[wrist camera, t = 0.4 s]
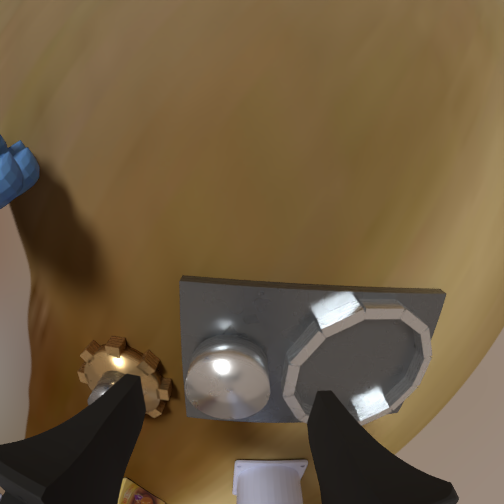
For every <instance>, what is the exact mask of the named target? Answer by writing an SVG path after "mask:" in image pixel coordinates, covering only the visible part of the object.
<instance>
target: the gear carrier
mask: <svg viewBox="0 0 504 504" xmlns="http://www.w3.org/2000/svg"><path fill="white" fill-rule="evenodd" d="M445 297H446V293H445V292H444V291H442V290H441V289H421V288H385V287H358V286H335V285H315V284H297V283H280V282H264V281H249V280H235V279H221V278H208V277H196V276H184V275H183V276H182V278H181V279H180V321H181V344H182V362H183V377H184V390H185V401H186V412H187V417H194V418H203V419H213V420H225V421H240V422H269V423H290V422H305V423H307V421H308V418H309V415H310V412H311V409H312V406H313V403H314V400H315V396H316V393H317V391H327V390H331V391H332V392H333V393H334V394H335V395H336V397H337V398H338V399H339V400H340V402H341V403H342V404H343V405H344V406H345V408H346V409H347V410H348V411H349V412H350V414H351V415H352V416H353V417H354V418H355V419H356V420H357V422H358V423H359V424H360V425H361V426H362V425H364V424H367V423H369V422H371V421H373V420H375V419H378V418H380V417H382V416H384V415H386V414H392V413H398V411H399V409H400V408H401V406H402V404H403V402H404V400H405V399H406V398H407V397H408V396H409V395H410V394H411V393H412V392H413V391H414V390H415V389H416V388H417V386H418V385H420V382H421V380H422V378H423V376H424V374H425V372H426V370H427V367H428V365H429V363H430V360H431V358H432V357H431V356H432V348H431V338H432V336H433V333H434V330H435V327H436V325H437V322H438V319H439V316H440V313H441V310H442V307H443V303H444V300H445Z"/></svg>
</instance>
